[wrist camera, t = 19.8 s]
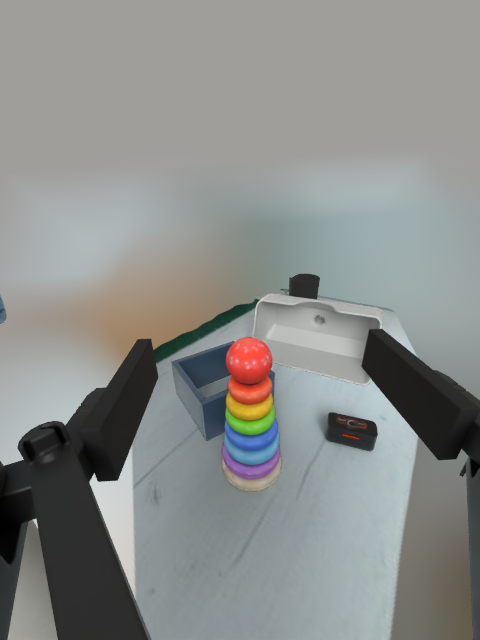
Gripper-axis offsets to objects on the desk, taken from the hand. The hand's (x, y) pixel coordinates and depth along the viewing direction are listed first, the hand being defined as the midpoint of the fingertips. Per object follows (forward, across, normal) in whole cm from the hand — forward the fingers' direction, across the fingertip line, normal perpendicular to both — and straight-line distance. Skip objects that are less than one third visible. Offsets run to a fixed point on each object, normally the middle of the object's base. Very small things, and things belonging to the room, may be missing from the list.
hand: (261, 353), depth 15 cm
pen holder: (+65, +22, -24) cm, 73 cm away
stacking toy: (+10, 0, -24) cm, 26 cm away
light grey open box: (+37, +17, -24) cm, 47 cm away
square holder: (+22, -4, -24) cm, 33 cm away
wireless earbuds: (+13, +16, -24) cm, 31 cm away
